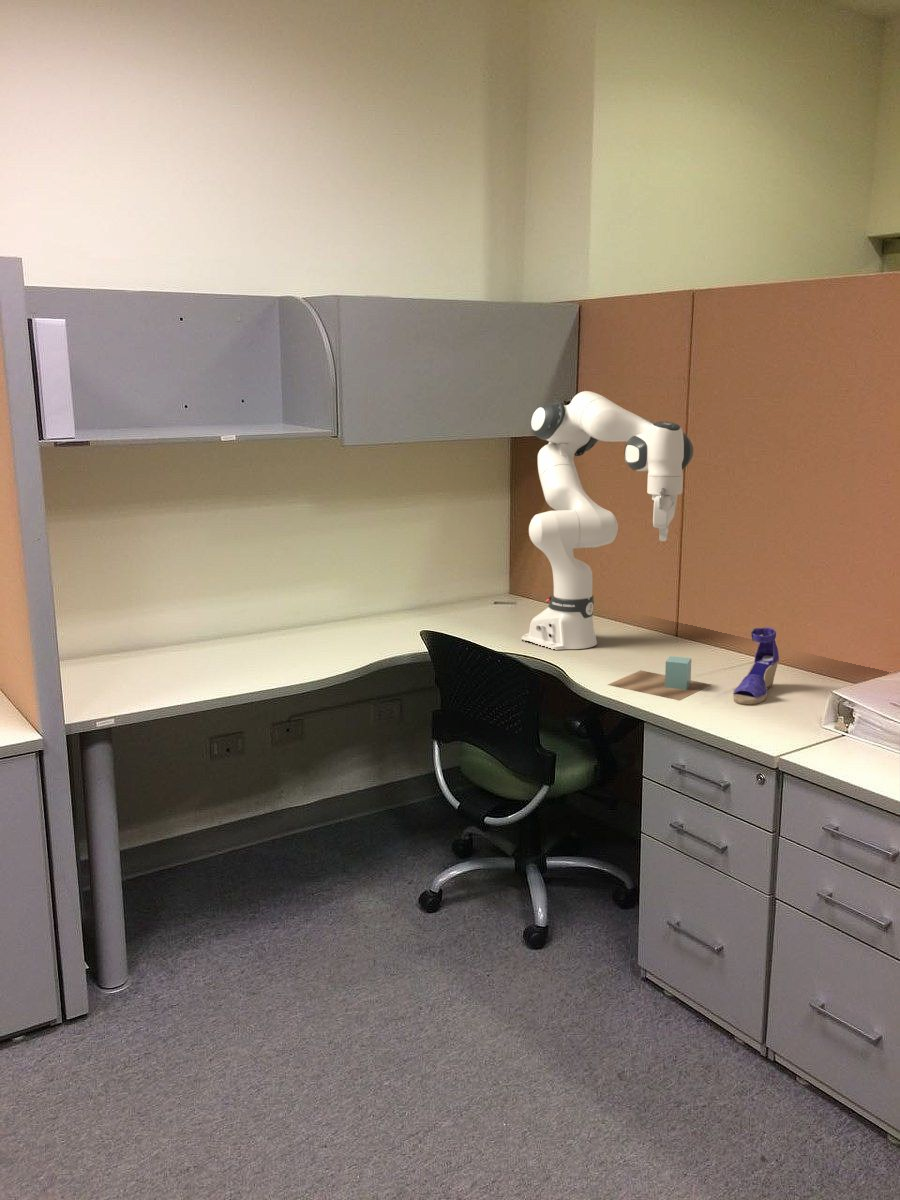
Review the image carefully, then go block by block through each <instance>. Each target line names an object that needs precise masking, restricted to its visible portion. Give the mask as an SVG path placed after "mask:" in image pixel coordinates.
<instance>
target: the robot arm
mask: <svg viewBox="0 0 900 1200" xmlns="http://www.w3.org/2000/svg"><path fill="white" fill-rule="evenodd" d="M529 422H530V424H529V425H530V429H531V433H532V434H533V435H534V436H535V437H537V438H538V439H540V440H542V441H547V442H548V444H545V445H544V446H542V447H541V448H540V449H539V451H538V453H537V472H538V476H539V481H540V485H541V489H542V493H543V498H544V499H545V502H546V504H547V505H548V506H549V507H550V508H551V509H554V510H548V511H544V512H539V513H537V514H535V515H534V516H533V517H532V518H531V519H530V523H529V524H528V536H529V539H530V541H531V543H532V544H533V545H534V546H535V547H536V548H538V549H539V551H541V552H542V553H543V554H544V555H545V556H546V558H547V560H548V561H549V563H550V566H551V571H552V579H553V594H552V595H550V596H549V597H545V599H546V600H545V602H549V604H548V605H547V607H546V608H545V609H544V610H542V611H541V612H539V613H538V614H536V615H535V616H534V617H533V618H532V619H531V620H530V624H529V630H528V632H527V633H524V634H523V635H522V636H521V639H524V640H527V641H530V642H533V643H535V644H538V645H537V646H539V645H541V646H540V647H542V646H545V647H544V648H546V647H548V648H547V649H549V648H551V649H550V650H553V649H555V650H554V651H560V650H583V649H589V648H592V647H595V646H596V645H598V641H597V637H596V632H595V626H594V617H593V616H594V610H595V609H594V608H595V606H594V603H595V598H594V595H593V570H592V568H591V567H590V565H589V564H587V563H586V562H584V561H583V560H580V559H578V558H575V554H574V549H584V548H585V549H586V548H588V549H589V548H590V549H591V548H598V547H603V546H606V545H609V544H612V543H613V542H614V541H615V540H616V537H617V534H618V531H619V525H618V521H617V518H616V516H615V514H614V513H613V512H612V511H610V510H608V509H606V508H604V507H602V506H600V505H599V504H597V503H596V502H595V501H594V500H593V499H591V497H590V496H588V494H587V493H586V491H585V490H584V488H583V486H582V483H581V480H580V477H579V474H578V470H577V468H576V464H575V462H574V457H579V456H583V455H584V454H585V453H586V452H588V451H590V450H591V449H592V448H593V447H594V446H595V445H597V443H598V441H601V442H606V443H607V442H608V443H609V442H614V443H615V442H626V444H625V446H624V453H623V455H624V460H625V464H626V465H627V466H628V467H629V468H630V469H631V470H632V471H636V472H648V473H647V481H646V483H647V485H646V486H647V488H646V490H647V491H646V492H647V494H649V495H651V500H652V501H653V509H652V510H653V512H652V513H653V515H652V525H653V528H657V529H658V533H659V536H658V537H659V542H666V541H667V540H668V532H669V527H670V526H669V525H670V524H671V522H672V520H673V519H674V518H675V513H676V507H677V500H678V495H682V494H683V487H684V486H683V483H684V473H683V470H684V469H686V468H687V466H688V465H689V464H690V462H691V461H692V458H693V457H694V445H693V442H692V441H691V439H690V438H689V436H687V434H686V433H684V432H683V429H682V427H681V425H679V424H678V423H677V422H672V421H656V422H652V421H651V420H649V419H647V418H644V417H642V416H640V415H637V414H635V413H633V412H631V411H629V410H627V409H625V408H623V407H621V406H620V405H618V404H616V403H615V402H614V401H611V400H610V399H608V398H607V397H605V396H603V395H601V394H599V393H597V392H593V391H591V390H589V391H588V390H584V391H583V390H582V391H581V392H579V393H577V394H576V395H575V396H573V398H572V399H571V400H570V402H569V404H566V405H565V404H563V403H562V402H561V401H555V402H553V403H552V402H551V403H542V404H540V405H539V406H537V407H536V408H535V409H534V411H533V413H532V414H531V418H530V421H529ZM521 639H520V640H521ZM535 644H534V645H535Z"/></svg>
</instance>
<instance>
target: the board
mask: <svg viewBox="0 0 900 1200" xmlns="http://www.w3.org/2000/svg"><path fill="white" fill-rule="evenodd" d="M607 686H610V687H614V688H615V687H616V688H619V689H620V688H621V689H623V690H624V689H625V690H629V691H634V692H637V693H638V692H639V693H642V694H647V695H652V696H656V697H661V698H666V699H671V700H676V701H678V702H679V701H682V700H684V699H686V698H688V697H690V696H692V695H694V694H695V693H697V692H700V691H701V690H702V691H703V690H704V689H706V688H707V687H710V686H712V684H711V683H706V682H700V681H695V680H692V679H691V684H690V685H689V687H688V688H687V689H686V690H684V689H675V688H666V687H665V674H661V673H656V672H653V671H652V672H651V671H647V670H638V671H636V672H633V673H632V674H628V675H626V676H624V677H622V678H619V679H617V680H615V681H612V682H610V683H608V684H607Z"/></svg>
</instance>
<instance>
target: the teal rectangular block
mask: <svg viewBox="0 0 900 1200" xmlns="http://www.w3.org/2000/svg"><path fill="white" fill-rule="evenodd" d="M691 674H692V657H684V656H673V655H670V656H669V657H668V658H667V659H666V661H665V673H664V675H665V687H666V688H675V689H684V690H686V689H687V688H688V687H689V685H690V684H691V680H692V679H691V678H692V675H691Z"/></svg>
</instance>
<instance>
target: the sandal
mask: <svg viewBox="0 0 900 1200" xmlns="http://www.w3.org/2000/svg"><path fill="white" fill-rule="evenodd" d="M750 637H751V640H752V642H756V643H758V646H757V649H756V652H755V655H754V656H755V657H754V662H753V663H752V665H751V667H750V668H749V671H748V672H747V674H746V675H745V676H744V677H743V679H742V680H741V682H740V683H739V685H738V686H737V687H736V688H735V689H734V690H733V693H732V697H733V702H735V704H738V705H741V706H754V705H759V704H761V703H764V702H765V701H766V699H767V695H768V690H769V689H770V688H772V687H773V684H774V680H775V676H776V672H777V668H778V664H779V661H780V655H779V648H778V646H777V642H776V637H777V630H776V629H774V628H772V627H767V626H766V627H765V626H764V627H761V628H760V627H758V628H753V629H752V630H751V631H750Z"/></svg>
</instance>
